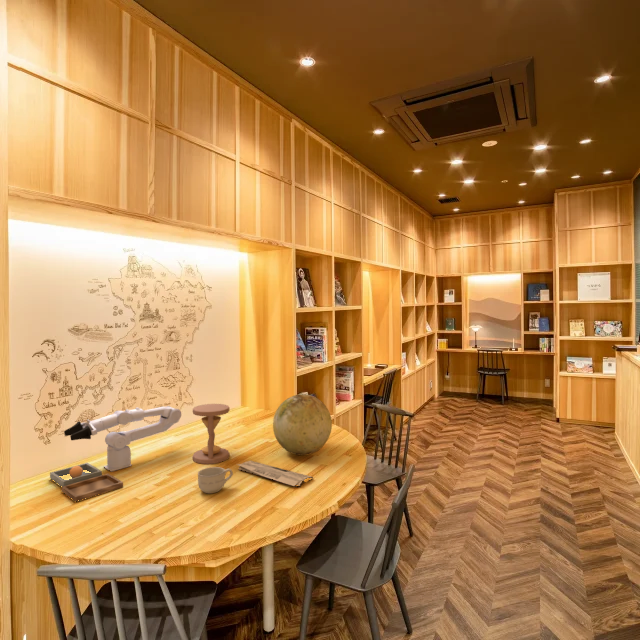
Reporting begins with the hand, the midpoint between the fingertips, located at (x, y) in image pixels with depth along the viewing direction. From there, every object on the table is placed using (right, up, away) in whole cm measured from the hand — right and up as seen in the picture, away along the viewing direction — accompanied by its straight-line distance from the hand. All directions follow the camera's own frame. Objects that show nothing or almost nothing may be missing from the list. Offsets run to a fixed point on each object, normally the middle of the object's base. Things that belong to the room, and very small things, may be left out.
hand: (67, 435), depth 177 cm
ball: (+2, -16, +2) cm, 16 cm away
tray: (+15, -19, -9) cm, 26 cm away
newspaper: (+86, -20, +7) cm, 89 cm away
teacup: (+65, -20, -8) cm, 69 cm away
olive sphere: (+99, -19, +35) cm, 106 cm away
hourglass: (+54, -19, +28) cm, 64 cm away
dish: (+2, -19, +2) cm, 19 cm away
